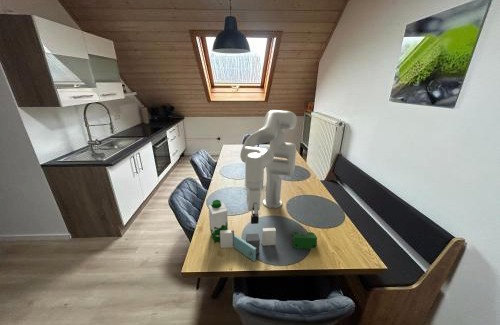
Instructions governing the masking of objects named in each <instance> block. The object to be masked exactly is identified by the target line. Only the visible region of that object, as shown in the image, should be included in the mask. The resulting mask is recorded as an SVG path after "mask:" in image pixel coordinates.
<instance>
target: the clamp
mask: <svg viewBox="0 0 500 325" xmlns="http://www.w3.org/2000/svg"><path fill="white" fill-rule="evenodd" d="M292 238H293V239H292V245H293V247H294V248H295V249H309V250H312V249H313V250H314V249H317V246H318V237H317V235H316V234H315V233H314V232H311V231H309V232H307V234H301V233H300V232H299V231H292Z"/></svg>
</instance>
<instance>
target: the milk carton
mask: <svg viewBox="0 0 500 325" xmlns="http://www.w3.org/2000/svg"><path fill="white" fill-rule="evenodd" d="M208 218H209V219H208V220H209V230H210V235H211V238H212V240H213V243H214V244H215V243H218V242H220V231H221V230H229V227H228V225H229V224H228V208H227V207H226V205H225V203H224V202H223V201H222V202H221V201H220V199H219V200H218V199H215V200H213V201H212V203H211V204H209V205H208Z"/></svg>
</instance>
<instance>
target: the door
mask: <svg viewBox="0 0 500 325" xmlns="http://www.w3.org/2000/svg"><path fill="white" fill-rule="evenodd" d="M233 248H235V250H236V251H237V250H238V252H240V253H241V254H243V255H244V256H246V257H247V258H248V259H250V260H251V261H253V262H255V261H256V260H257V253H256V248H255V247H254V246H252V245H251V244H249V243H247V242H246V240H244V239H243V238H241V237H240V236H238V235H237V234H234V247H233Z"/></svg>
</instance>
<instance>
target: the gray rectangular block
mask: <svg viewBox="0 0 500 325" xmlns="http://www.w3.org/2000/svg"><path fill="white" fill-rule="evenodd" d="M245 241H246V242H247V243H249V244H251V245H252V246H254V247H255V248H256V254H260V241H261V240H260V235H259V233H247V234H245Z"/></svg>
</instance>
